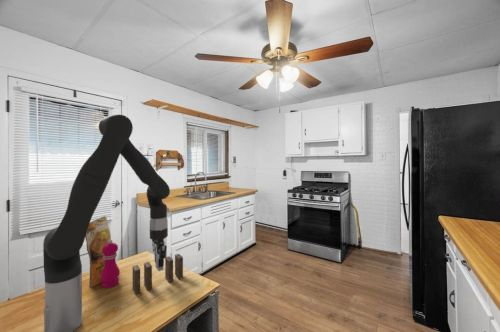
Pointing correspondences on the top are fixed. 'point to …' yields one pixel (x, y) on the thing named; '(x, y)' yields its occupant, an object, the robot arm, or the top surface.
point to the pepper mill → (110, 265)
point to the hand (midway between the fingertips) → (159, 264)
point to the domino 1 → (136, 279)
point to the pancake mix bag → (97, 248)
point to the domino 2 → (148, 276)
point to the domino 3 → (157, 262)
